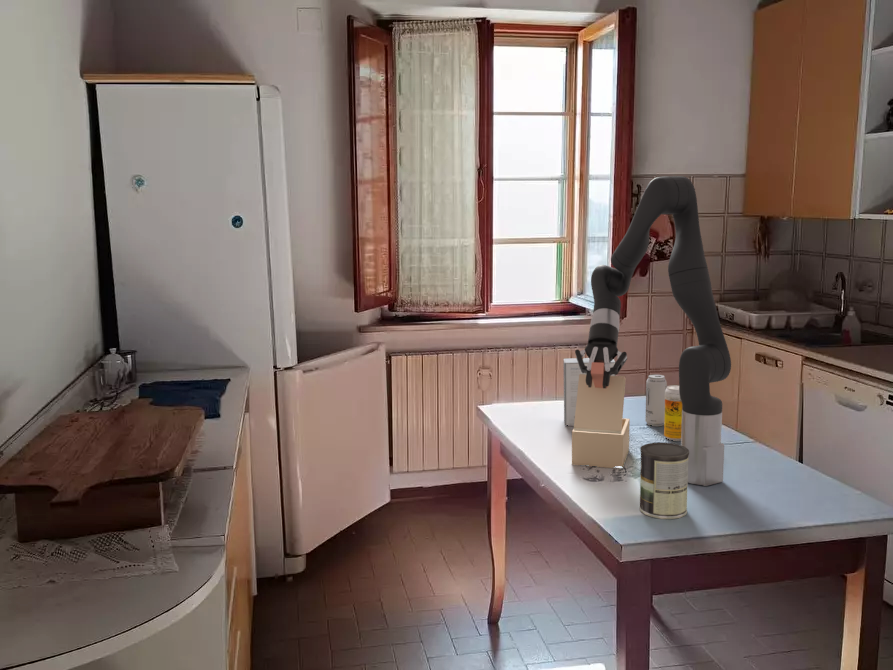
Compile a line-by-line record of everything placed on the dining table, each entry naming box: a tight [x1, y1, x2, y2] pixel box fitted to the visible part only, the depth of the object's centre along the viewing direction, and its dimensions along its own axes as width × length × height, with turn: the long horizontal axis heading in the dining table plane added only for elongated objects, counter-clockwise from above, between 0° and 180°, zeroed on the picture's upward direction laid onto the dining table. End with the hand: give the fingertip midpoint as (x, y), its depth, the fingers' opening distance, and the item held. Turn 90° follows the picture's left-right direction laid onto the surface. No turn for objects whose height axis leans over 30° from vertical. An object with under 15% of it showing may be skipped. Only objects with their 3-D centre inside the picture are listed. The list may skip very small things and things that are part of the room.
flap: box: [573, 362, 627, 434], centre depth 204 cm, size 15×12×11 cm
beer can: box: [663, 384, 682, 442], centre depth 229 cm, size 6×6×15 cm
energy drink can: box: [644, 374, 668, 427], centre depth 244 cm, size 6×6×15 cm
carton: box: [571, 417, 631, 469], centre depth 214 cm, size 16×13×9 cm
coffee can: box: [639, 442, 689, 520], centre depth 176 cm, size 10×10×14 cm
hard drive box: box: [563, 357, 617, 427], centre depth 246 cm, size 16×8×20 cm, turn 84°
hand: (596, 386), depth 202 cm, fingers closed on flap, 3 cm apart
